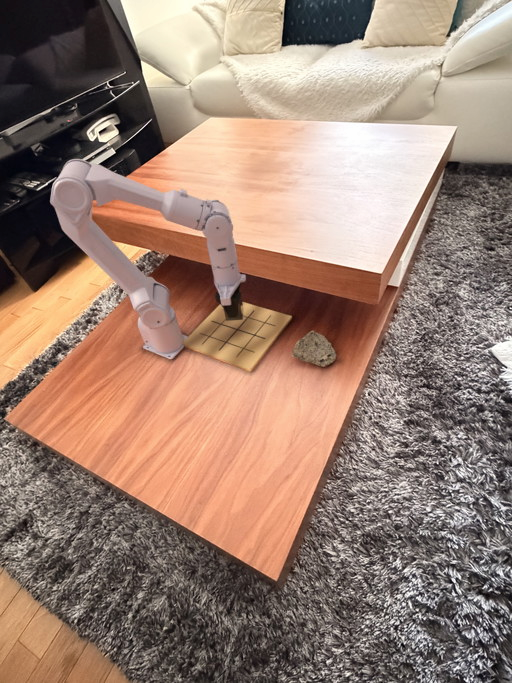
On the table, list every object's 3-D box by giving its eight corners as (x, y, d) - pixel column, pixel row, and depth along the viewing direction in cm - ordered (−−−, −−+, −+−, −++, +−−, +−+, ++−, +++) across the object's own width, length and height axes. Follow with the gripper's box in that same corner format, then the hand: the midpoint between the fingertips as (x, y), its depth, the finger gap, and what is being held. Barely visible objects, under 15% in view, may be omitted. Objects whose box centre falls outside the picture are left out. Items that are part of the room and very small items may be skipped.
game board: (181, 345, 95) (181, 343, 94) (227, 299, 106) (226, 296, 106) (250, 372, 86) (250, 369, 85) (292, 318, 98) (292, 315, 97)
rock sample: (331, 368, 79) (310, 330, 79) (302, 381, 84) (283, 345, 84) (349, 354, 87) (330, 320, 88) (322, 366, 92) (304, 334, 92)
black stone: (242, 319, 91) (239, 302, 87) (226, 321, 91) (222, 304, 88) (243, 309, 94) (240, 292, 90) (227, 310, 94) (223, 293, 91)
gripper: (241, 278, 77) (249, 329, 86) (244, 242, 87) (251, 290, 96) (206, 281, 77) (218, 332, 86) (213, 244, 88) (223, 293, 97)
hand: (233, 310), depth 91 cm, fingers closed on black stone, 4 cm apart
